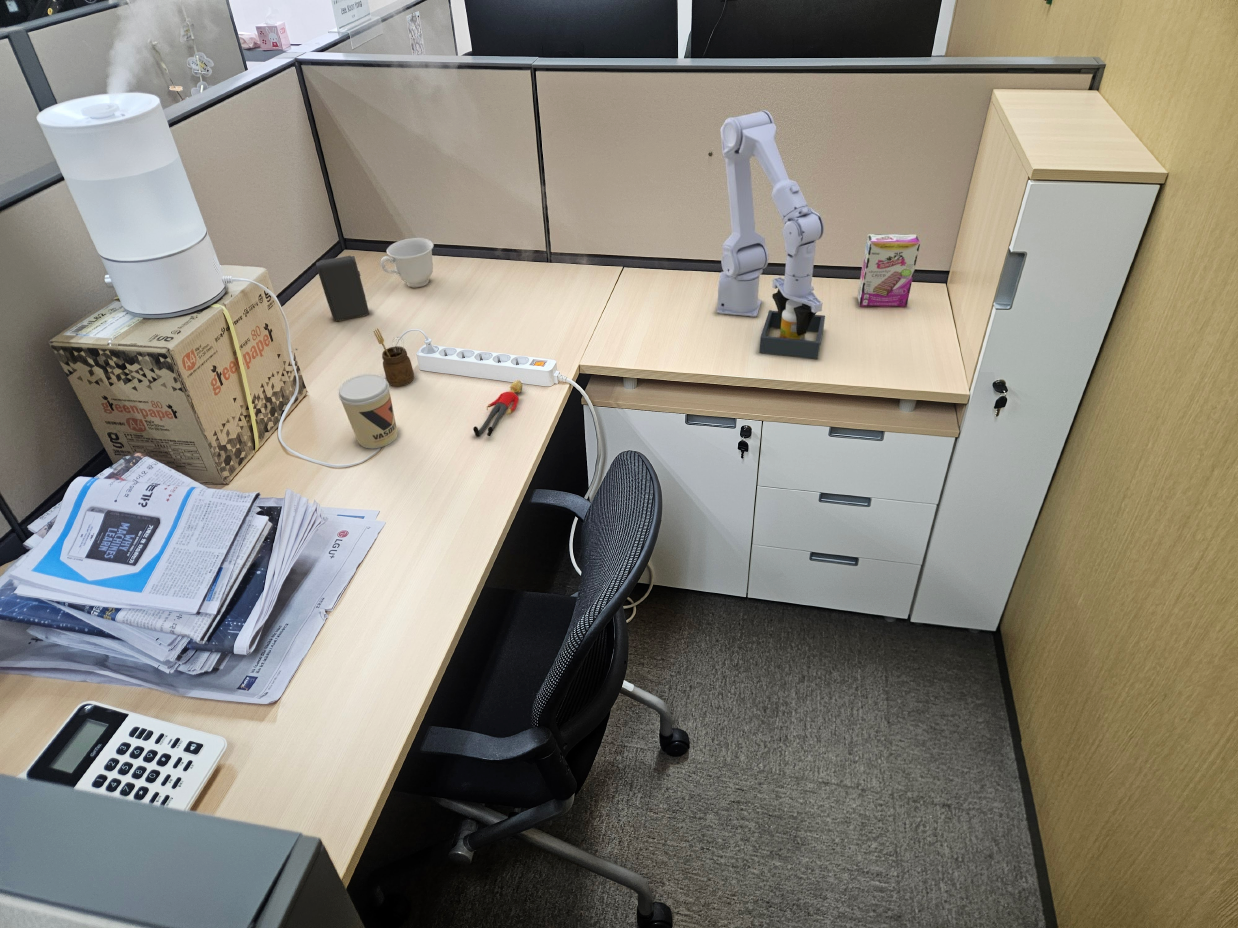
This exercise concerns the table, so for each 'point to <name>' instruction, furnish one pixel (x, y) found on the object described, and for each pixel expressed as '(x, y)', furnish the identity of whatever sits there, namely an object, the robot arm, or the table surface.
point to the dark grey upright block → (343, 287)
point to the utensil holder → (396, 363)
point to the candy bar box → (888, 270)
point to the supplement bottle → (790, 321)
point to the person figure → (500, 408)
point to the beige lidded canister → (369, 409)
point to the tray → (791, 345)
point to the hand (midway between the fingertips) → (793, 328)
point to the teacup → (411, 260)
